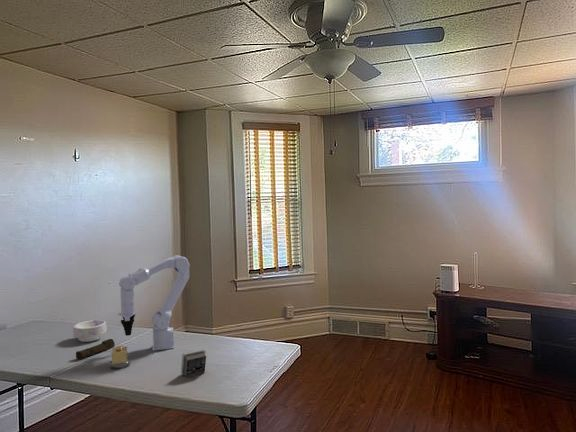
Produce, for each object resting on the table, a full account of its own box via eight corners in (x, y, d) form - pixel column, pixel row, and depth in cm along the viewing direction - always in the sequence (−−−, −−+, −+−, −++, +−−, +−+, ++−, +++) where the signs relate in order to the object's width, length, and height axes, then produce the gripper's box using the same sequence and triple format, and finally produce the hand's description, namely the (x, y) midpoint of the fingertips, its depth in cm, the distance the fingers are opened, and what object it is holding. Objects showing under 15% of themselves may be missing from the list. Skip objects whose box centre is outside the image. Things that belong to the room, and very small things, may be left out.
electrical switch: (203, 369, 175) (203, 347, 174) (208, 374, 171) (208, 352, 170) (180, 374, 170) (180, 352, 169) (185, 380, 166) (185, 357, 165)
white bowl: (66, 342, 215) (66, 326, 214) (91, 333, 229) (90, 318, 228) (89, 345, 209) (88, 329, 209) (113, 336, 223) (112, 320, 223)
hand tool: (80, 361, 188) (80, 350, 188) (75, 359, 191) (75, 349, 190) (118, 348, 205) (117, 338, 204) (112, 346, 207) (112, 337, 206)
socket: (127, 358, 184) (126, 344, 184) (126, 362, 179) (126, 348, 179) (113, 360, 183) (112, 346, 182) (112, 364, 177) (111, 350, 177)
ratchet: (129, 368, 178) (128, 356, 178) (109, 370, 176) (108, 358, 176) (131, 352, 198) (131, 341, 198) (113, 354, 195) (113, 343, 195)
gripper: (119, 300, 201) (120, 329, 201) (116, 307, 187) (118, 338, 188) (135, 299, 203) (136, 327, 204) (134, 305, 189) (135, 336, 190)
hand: (128, 332), depth 196 cm, fingers open, 7 cm apart
